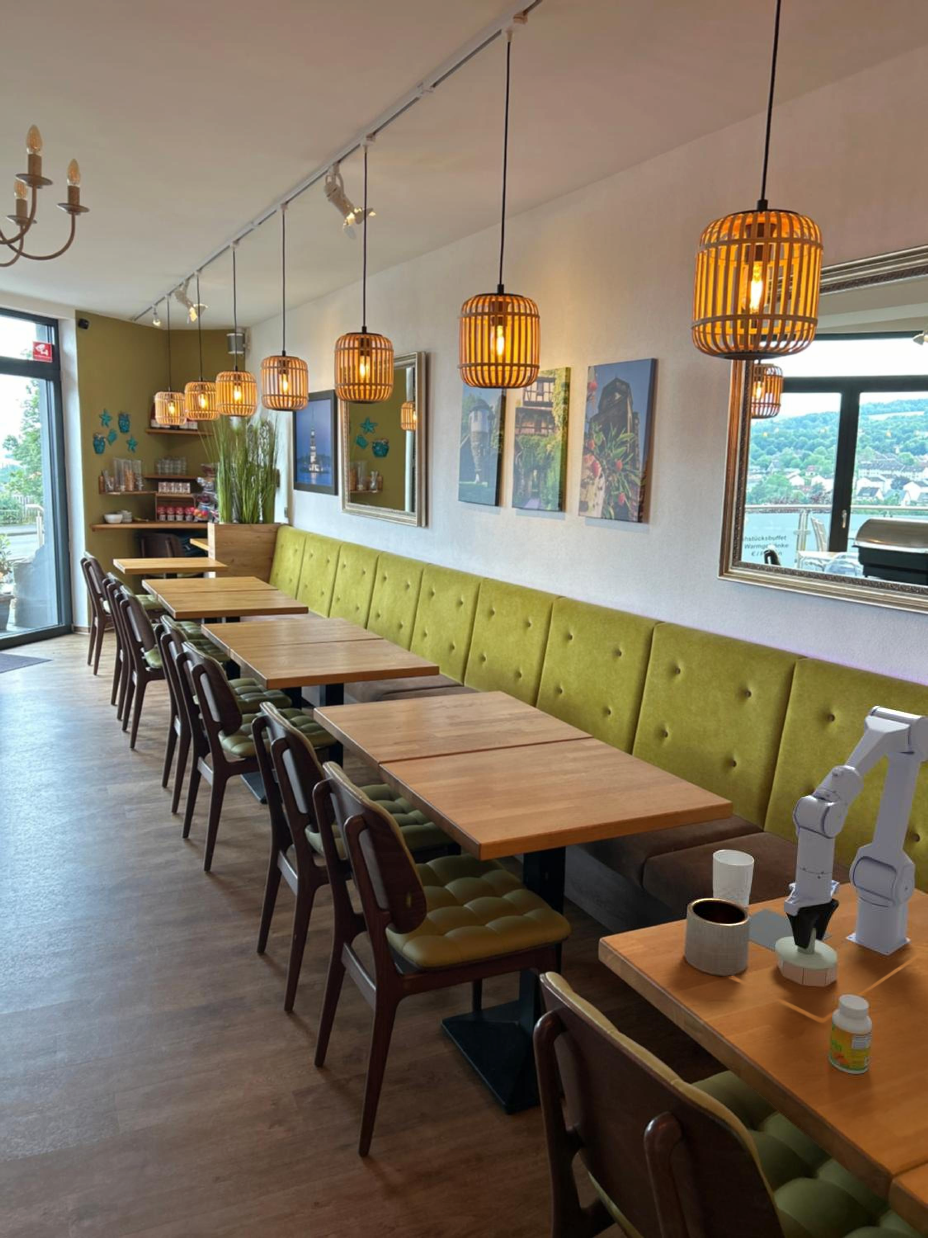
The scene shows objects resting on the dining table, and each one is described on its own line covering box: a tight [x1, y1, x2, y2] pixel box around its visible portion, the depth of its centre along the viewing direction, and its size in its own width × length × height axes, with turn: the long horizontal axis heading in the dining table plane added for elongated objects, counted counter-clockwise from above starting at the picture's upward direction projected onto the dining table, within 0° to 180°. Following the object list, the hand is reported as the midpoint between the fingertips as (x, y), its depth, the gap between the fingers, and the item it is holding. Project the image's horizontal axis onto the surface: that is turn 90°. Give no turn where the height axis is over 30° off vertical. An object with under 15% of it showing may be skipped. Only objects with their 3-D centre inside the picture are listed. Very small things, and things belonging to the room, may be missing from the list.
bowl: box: [776, 956, 839, 987], centre depth 156 cm, size 9×9×4 cm
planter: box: [684, 897, 751, 977], centre depth 160 cm, size 11×11×10 cm
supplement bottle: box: [828, 993, 873, 1075], centre depth 131 cm, size 5×5×10 cm
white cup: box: [712, 849, 755, 909], centre depth 182 cm, size 8×8×10 cm
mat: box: [749, 908, 833, 952], centre depth 170 cm, size 14×14×1 cm
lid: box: [774, 927, 838, 970], centre depth 156 cm, size 10×10×5 cm
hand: (808, 942), depth 156 cm, fingers open, 4 cm apart
